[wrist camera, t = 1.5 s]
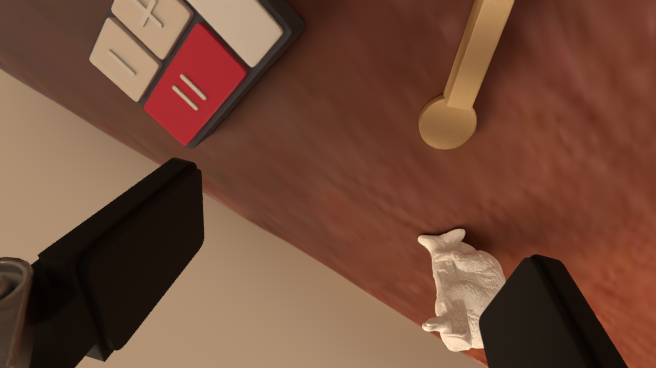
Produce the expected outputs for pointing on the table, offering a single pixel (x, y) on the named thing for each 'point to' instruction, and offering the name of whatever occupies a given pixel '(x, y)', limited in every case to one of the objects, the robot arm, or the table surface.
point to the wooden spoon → (465, 78)
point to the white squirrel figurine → (461, 288)
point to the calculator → (192, 56)
